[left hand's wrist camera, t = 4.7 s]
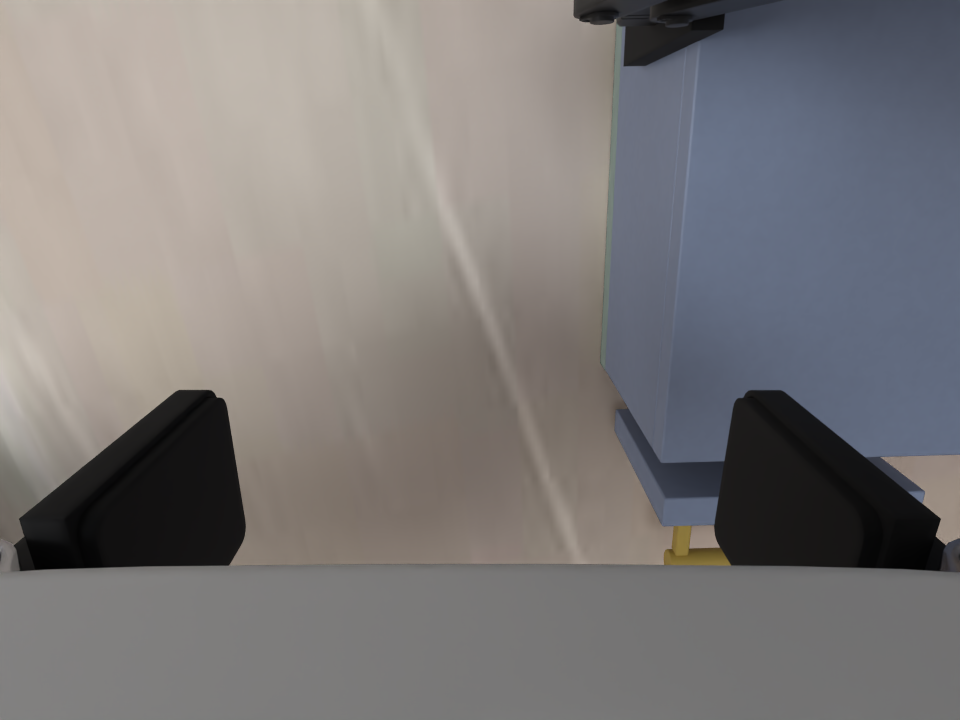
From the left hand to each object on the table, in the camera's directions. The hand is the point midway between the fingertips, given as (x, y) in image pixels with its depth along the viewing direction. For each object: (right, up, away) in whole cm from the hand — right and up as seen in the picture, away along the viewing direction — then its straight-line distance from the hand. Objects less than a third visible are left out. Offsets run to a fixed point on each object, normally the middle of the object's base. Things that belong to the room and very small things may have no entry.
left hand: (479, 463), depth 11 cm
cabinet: (+11, +10, +15) cm, 21 cm away
